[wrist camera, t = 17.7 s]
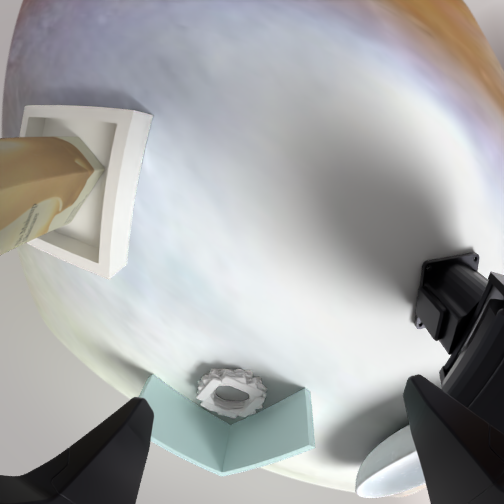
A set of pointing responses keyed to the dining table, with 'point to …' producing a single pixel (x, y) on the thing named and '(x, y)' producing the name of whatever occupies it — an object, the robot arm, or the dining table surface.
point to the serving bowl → (390, 467)
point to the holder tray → (105, 190)
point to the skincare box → (42, 185)
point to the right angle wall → (223, 434)
